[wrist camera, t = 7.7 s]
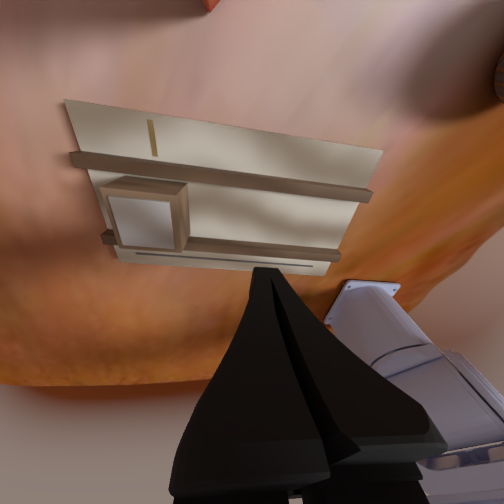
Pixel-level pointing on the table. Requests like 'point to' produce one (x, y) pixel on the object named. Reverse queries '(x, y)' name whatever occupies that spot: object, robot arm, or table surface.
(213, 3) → the cracker box
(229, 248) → the birch board
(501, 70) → the vase
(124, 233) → the block
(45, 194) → the table surface
